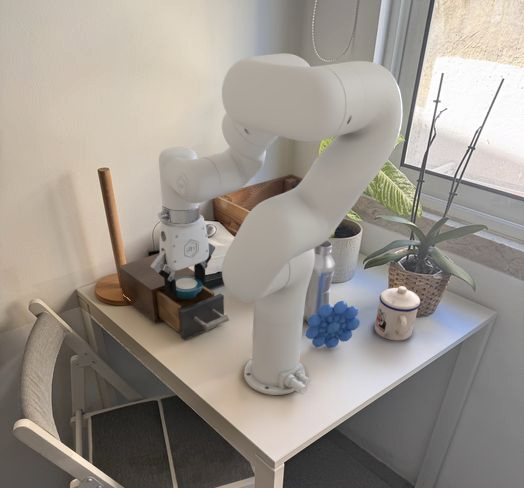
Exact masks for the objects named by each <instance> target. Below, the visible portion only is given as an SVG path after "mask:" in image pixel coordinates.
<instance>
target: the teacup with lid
mask: <svg viewBox="0 0 524 488" xmlns="http://www.w3.org/2000/svg"><path fill="white" fill-rule="evenodd" d="M420 306H421V300H420V297H419V296H418V294H416V293H415V292H413V291H412V290H409V289H408V288H407V287H406V286H403V285H400V286H398V287H391V288H387V289H384V290H383V291H382V292H381V293H380V295H379V303H378V307H377V314H376V319H375V324H374V330H375V332H376V333H377V334H378V335H379V336H380V337H382V338H384V339H386V340H390V341H395V342H397V341H398V342H399V341H405V340H407V339H409V338H410V337H411V336H412V334H413V330H414V326H415V322H416V318H417V314H418V311H419V308H420Z"/></svg>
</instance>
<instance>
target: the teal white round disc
mask: <svg viewBox="0 0 524 488" xmlns="http://www.w3.org/2000/svg"><path fill="white" fill-rule="evenodd" d="M174 280H175V281H176V293H177V297H179V298H182V299H191V298H194V297H195V296H196V295H197V293H199V292H200V291H201V290H202V281H201V280H200V279H198V278H196V277H192V276H182V277H178V278H175V279H174Z"/></svg>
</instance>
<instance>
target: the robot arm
mask: <svg viewBox="0 0 524 488" xmlns="http://www.w3.org/2000/svg"><path fill="white" fill-rule="evenodd" d="M221 100H222V105H223V108H224V110H225V113H224V116H223V117H222V121H221V131H222V135H223V137H224V140H225V142H226V143H227V145H228V146H229V147H228V148H227V149H226V150H224V151H223V152H219V153H214V154H210V155H206V156H203V157H199V158H198V155H197V153H196V151H194V149H192V148H188V147H183V146H181V147H180V146H179V147H178V146H174V147H168V148H165V149H163V150H161V151H160V153H159V156H158V167H159V179H160V191H161V192H160V193H161V203H162V204H161V212H158V213H157V217H158V219H159V220H160V227H159V242H158V243H159V253H160V254H159V255H158V257H157V258H156V259H155V261H154V262H153V263H152V264H151V268H152V269H153V270H154V271H155V272H157V273H158V274H159V275H161V276H162V277H164V282H165V290H166V291H167V292H168V293H169V294H171V295H172V296H176V295H177V293H176V281H175V280H174V279H173V278H174V275H175V272H176V271H178V270H181V269H184V268H187V267H188V268H190V267H192V266H193V271H194V274H195V277H196V278H198V279H200V280H201V281H202V285H203V286H205V285H206V269H207V268H208V267H209V266H208V263H209V262H210V261H211V259H212V255H213V254H214V252H215V250H216V246H215V245H214V244H212V243H210V242H209V236H208V229H207V226H206V221H205V218H204V216H203V215H202V214H201V205H200V204H201V203H205V202H208V201H211V200H214V199H216V198H220V197H223V196H225V195H228V194H232V193H235V192H237V191H239V190H240V189H242V188H243V187H245V186H246V185H247V184H248V183H249V182H250V181H251V180H252V179H253V178H254V177H256V175H258V173H259V172H260V171H261V170H262V168H263V166H264V164H265V160H266V156H267V155H266V154H267V150H268V149H269V147H270V146H271V145H273V144H274V142H275V141H276V140H277V139H278V138H279V137H281V138H285V139H289V140H294V141H299V142H305V143H307V142H309V143H314V142H319V141H320V142H321V141H324V140H325V141H326V140H328V139H329V140H330V139H332V138H333V139H332V140H331V141H330V143H328V145H326V147H325V148H323V149H322V151H321V152H320V153H319V154H318V156H317V157H316V158H315V159H314V161H313V163H312V164H311V166H310V168H309V170H308V171H307V172H306V174H305V175H304V177H303V178H302V179H301V181H300V182H298V183H299V185H298V186H297V187H295V188H294V189H292V188H291V189H290V190H287V191H285V192H283V193H279V194H277V195H274V196H271V197H269V198H267V199H264V200H263V201H261V202H259V203H257V204H256V205H255V206H254V207H252V209H251V210H250V211H249V212H248V213H247V215H246V216H245V218H244V219H243V221H242V222H241V225H240V227H239V229H238V230H237V232H236V234H235V236H234V237H233V239H232V241H231V242H230V245H229V247H228V249H227V250H226V252H225V255H224V257H223V260H222V263H221V264H222V266H221V278H222V282H223V285H224V287H225V290H227V292H228V293H229V294H230V295H231V296H232V297H233V298H234V299H236V300H238V301H241V302H243V303H244V302H245V303H251V302H253V319H252V352H251V353H252V354H251V359H249V360H248V361H247V363H246V364H245V366H244V370H243V371H244V372H243V376H244V380H245V382H246V383H247V385H249V387H250V388H251V389H254V390H255V391H257V392H259V393H262V394H265V395H272V396H282V395H287V394H291V393H293V392H295V391H296V393H298V394H299V395H304V394H305V393H306V392H307V390H308V386H307V385H309V384H310V383H311V378H310V377H308V376H306V370H305V367H304V365H303V363H301V362H300V356H301V344H302V335H303V324H304V317H303V316H304V307H305V299H306V293H307V288H308V285H309V281H310V278H311V275H312V271H313V267H314V261H315V251H314V250H315V247H317V246H319V245H321V244H322V243H324V242H325V241H328V240H329V238H331V236H332V235H333V234H334V233H335V232H336V230H337V228H338V227H339V226H340V225H341V223H342V221H344V219H346V216H347V215H348V213H349V212H350V211H351V210H352V209H353V207H354V206H355V205H356V203H357V202H358V200H359V199H360V198H361V196H362V195H363V193H364V192H365V191H366V190H367V188H368V187H369V186H370V184H372V182H373V181H374V179H376V177H377V175H378V174H379V173H380V172H381V170H382V169H383V167H384V166H385V165H386V163H387V162H388V160H389V158H390V156H391V154H392V153H393V151H394V149H395V147H396V144H397V142H398V139H399V136H400V132H401V128H402V123H403V100H402V95H401V90H400V87H399V85H398V82H397V80H396V79H395V77H394V75H393V74H392V72H390V70H389V69H388V68H386V67H384V66H383V65H382V64H379V63H376V62H374V61H373V62H372V61H366V60H353V61H345V62H337V63H331V64H323V65H315V66H310V64H309V62H307V61H306V60H305V59H304V58H302V57H300V56H299V55H295V54H292V53H285V52H284V53H283V52H282V53H273V54H262V55H253V56H247V57H243V58H240V59H239V60H237V61H236V62H234V63H233V64H232V65H230V67H229V68H228V70H227V72H226V73H225V76H224V79H223V82H222V86H221ZM162 264H165V265H164V268H163V270H162V269H161V265H162ZM169 269H170V271H169ZM168 272H169V274H168Z"/></svg>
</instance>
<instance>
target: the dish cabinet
mask: <svg viewBox="0 0 524 488" xmlns="http://www.w3.org/2000/svg"><path fill="white" fill-rule="evenodd" d="M159 254H160V252H159V253H156V254H152V255H148V256H145V257H143V258H139V259H137V260H134V261H131V262H127V263H124V264H121V265H119V266H118V272H119V279H120V284H121V285H120V286H121V291H122V297H123V298H122V299H123V300H124V301H125V302H127V303H128V304H129V305H130V306H132V307H133V308H134V309H136V310H137V311H139V312H140V313H141V314H142V315H144V316H145V317H146V318H147V319H149V320H150V321H151V322H152V323H154V324H158V323H161V322H164V320H162V319H161V318H160V317H158V316H157V307H156V297H155V292H156V291H158V290H161V289H164V288H165V282H164V277H162V276H161V275H159V274H158V273H157V272H155V271H154V270H153V269H152V268H151V264H152V263H153V262H154V261H155V259H156V258H157V257H158V255H159ZM164 265H165V264H162V265H161V269H162V270H163V268H164ZM169 271H170V269H169ZM168 274H169V272H168ZM182 276H192V277H195V274H194V269H193V270H192V269H191V268H190V267H187V268H184V269H181V270H178V271H176V272H175V275H174V278H173V279H175V278H178V277H182ZM123 294H124V295H125V296H126V297H128V298H129V299H130V300H131V301H129V300H128V299H127V298H126V297H124V296H123Z"/></svg>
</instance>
